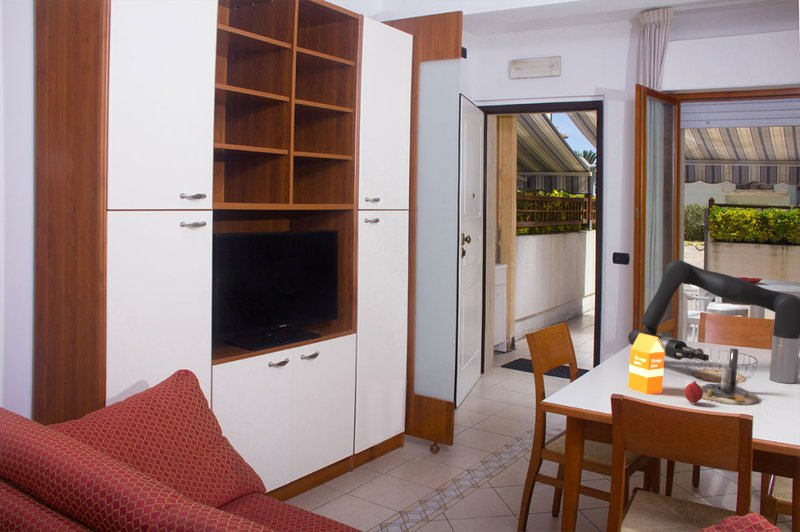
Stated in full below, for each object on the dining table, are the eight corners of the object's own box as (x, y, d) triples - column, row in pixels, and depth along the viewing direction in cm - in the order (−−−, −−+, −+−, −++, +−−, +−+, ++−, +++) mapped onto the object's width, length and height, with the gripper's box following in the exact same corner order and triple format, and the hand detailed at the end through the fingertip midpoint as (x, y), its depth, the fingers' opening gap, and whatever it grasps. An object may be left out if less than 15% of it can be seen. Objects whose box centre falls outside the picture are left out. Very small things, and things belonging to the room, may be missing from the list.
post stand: (736, 387, 263) (738, 361, 262) (771, 404, 242) (773, 376, 241) (681, 387, 261) (683, 360, 260) (712, 405, 240) (714, 375, 239)
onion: (680, 401, 244) (681, 378, 243) (696, 401, 244) (698, 378, 243) (688, 406, 238) (690, 382, 237) (705, 406, 238) (706, 382, 237)
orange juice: (646, 394, 251) (650, 338, 249) (627, 387, 259) (631, 333, 257) (662, 391, 255) (666, 336, 253) (643, 385, 263) (647, 331, 261)
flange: (733, 386, 260) (736, 348, 258) (763, 400, 242) (766, 359, 241) (694, 386, 258) (697, 347, 257) (721, 400, 241) (724, 359, 239)
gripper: (659, 339, 279) (695, 349, 263) (684, 337, 285) (720, 347, 269) (658, 358, 280) (693, 369, 264) (683, 356, 285) (719, 366, 270)
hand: (707, 358), depth 267 cm, fingers closed
